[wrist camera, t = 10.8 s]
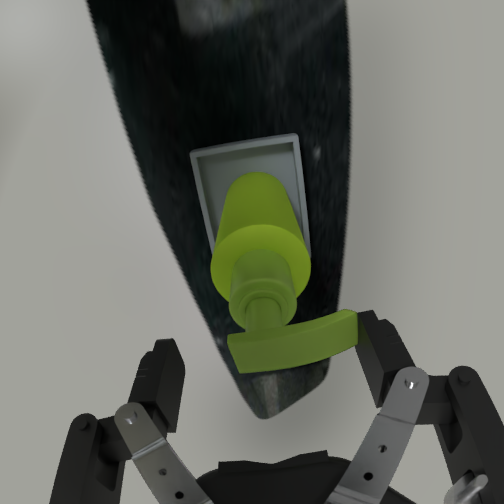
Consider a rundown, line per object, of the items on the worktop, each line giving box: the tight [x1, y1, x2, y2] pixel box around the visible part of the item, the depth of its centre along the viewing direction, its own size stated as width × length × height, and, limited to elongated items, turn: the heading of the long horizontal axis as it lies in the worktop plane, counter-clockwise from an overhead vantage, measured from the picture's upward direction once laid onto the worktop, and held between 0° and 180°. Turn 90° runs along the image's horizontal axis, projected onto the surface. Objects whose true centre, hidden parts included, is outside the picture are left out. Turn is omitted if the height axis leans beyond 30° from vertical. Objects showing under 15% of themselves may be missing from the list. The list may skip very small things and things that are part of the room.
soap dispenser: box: [211, 172, 358, 373], centre depth 22 cm, size 6×7×20 cm
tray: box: [189, 133, 311, 258], centre depth 30 cm, size 12×10×2 cm
